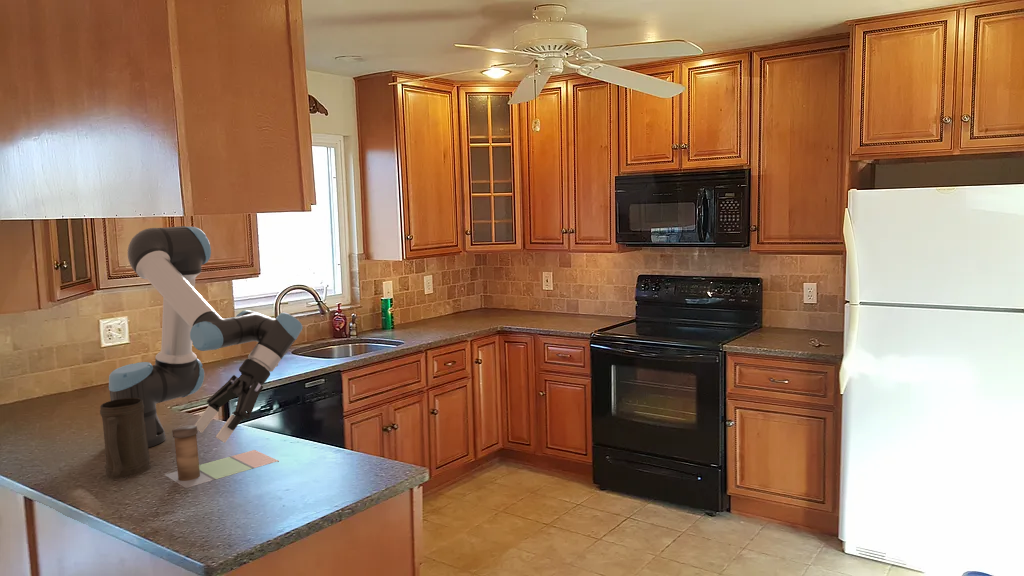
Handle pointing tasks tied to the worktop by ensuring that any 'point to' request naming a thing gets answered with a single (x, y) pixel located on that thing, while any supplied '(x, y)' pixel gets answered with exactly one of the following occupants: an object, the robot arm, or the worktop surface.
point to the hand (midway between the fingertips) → (208, 435)
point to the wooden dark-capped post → (186, 452)
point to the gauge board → (225, 467)
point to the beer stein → (125, 437)
